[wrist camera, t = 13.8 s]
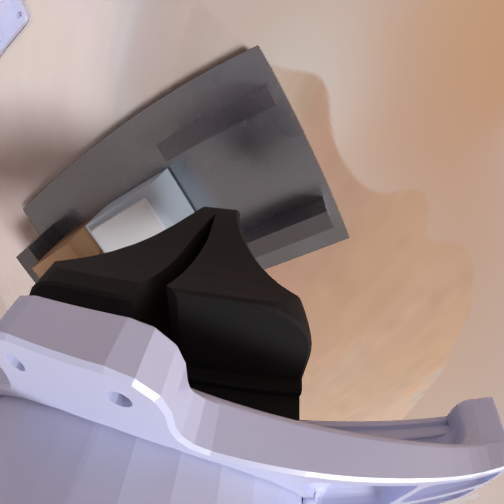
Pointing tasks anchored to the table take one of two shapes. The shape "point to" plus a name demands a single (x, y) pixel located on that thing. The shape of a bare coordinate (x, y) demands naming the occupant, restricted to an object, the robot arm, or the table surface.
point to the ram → (140, 213)
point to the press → (206, 165)
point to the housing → (70, 248)
